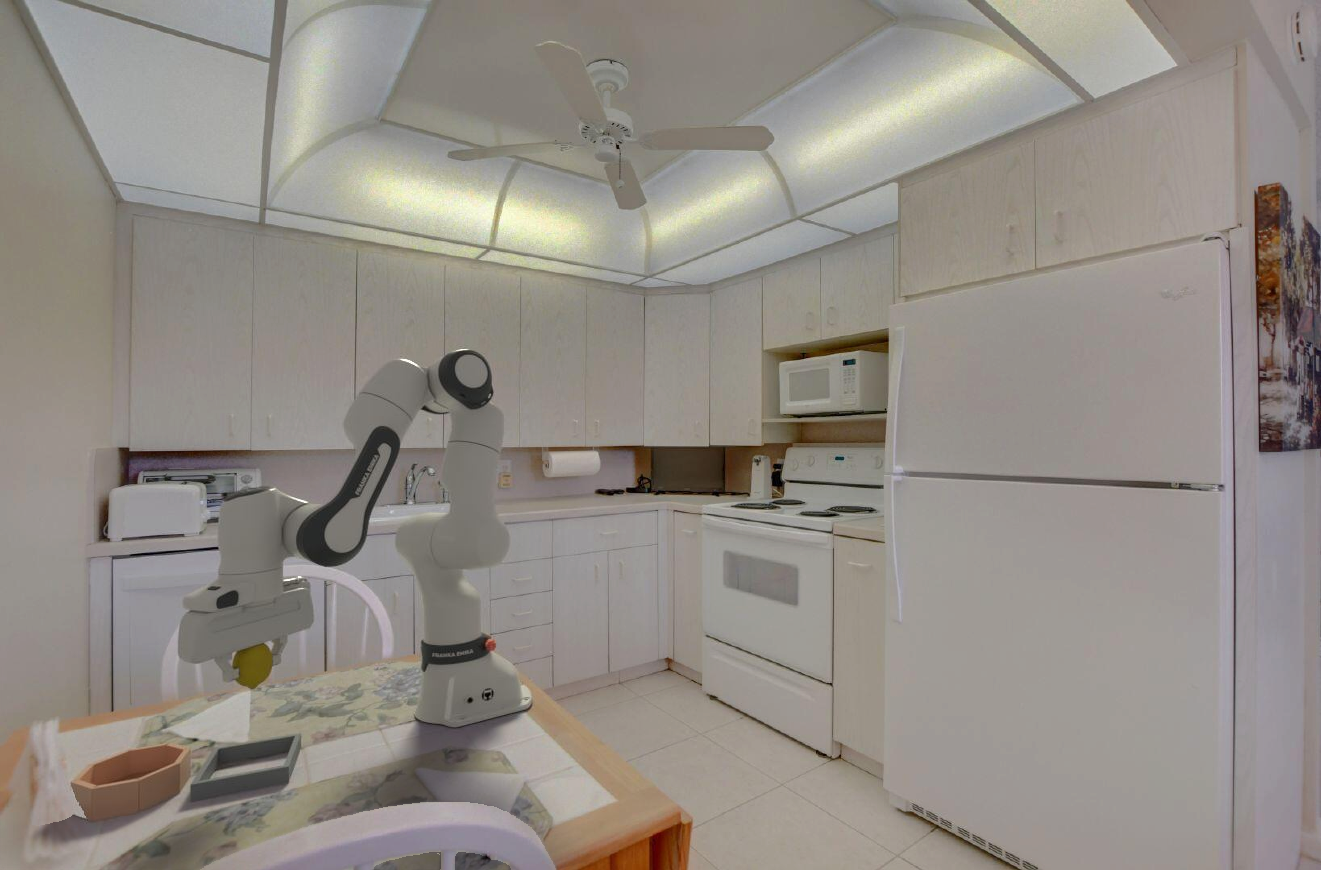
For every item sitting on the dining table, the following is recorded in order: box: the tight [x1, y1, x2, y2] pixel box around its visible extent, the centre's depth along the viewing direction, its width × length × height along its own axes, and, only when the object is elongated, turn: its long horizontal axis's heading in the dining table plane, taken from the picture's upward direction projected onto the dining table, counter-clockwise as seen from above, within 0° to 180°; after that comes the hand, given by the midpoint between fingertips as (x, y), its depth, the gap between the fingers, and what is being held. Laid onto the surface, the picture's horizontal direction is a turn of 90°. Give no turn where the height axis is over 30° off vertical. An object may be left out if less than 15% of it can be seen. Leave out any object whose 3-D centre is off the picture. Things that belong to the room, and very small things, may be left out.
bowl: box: [70, 742, 192, 822], centre depth 93 cm, size 13×13×4 cm
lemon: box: [231, 643, 274, 690], centre depth 99 cm, size 6×6×8 cm
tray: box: [189, 732, 302, 803], centre depth 99 cm, size 13×13×2 cm
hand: (252, 672), depth 99 cm, fingers closed on lemon, 6 cm apart
